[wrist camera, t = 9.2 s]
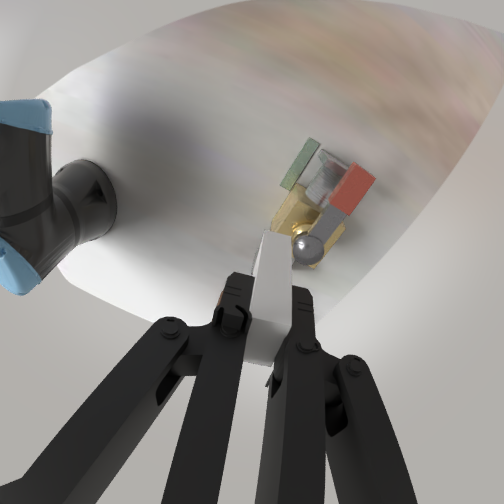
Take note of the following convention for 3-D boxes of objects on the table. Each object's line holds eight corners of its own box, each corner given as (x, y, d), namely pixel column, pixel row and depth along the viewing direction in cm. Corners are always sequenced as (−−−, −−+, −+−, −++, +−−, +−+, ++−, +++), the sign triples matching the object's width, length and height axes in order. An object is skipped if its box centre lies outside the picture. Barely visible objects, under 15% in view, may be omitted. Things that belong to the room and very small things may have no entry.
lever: (349, 158, 25) (352, 161, 24) (375, 177, 26) (379, 181, 25) (286, 249, 32) (286, 256, 31) (311, 262, 33) (312, 270, 31)
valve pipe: (243, 245, 43) (233, 278, 36) (309, 137, 33) (315, 147, 26) (290, 270, 44) (289, 305, 37) (361, 171, 34) (380, 191, 27)
